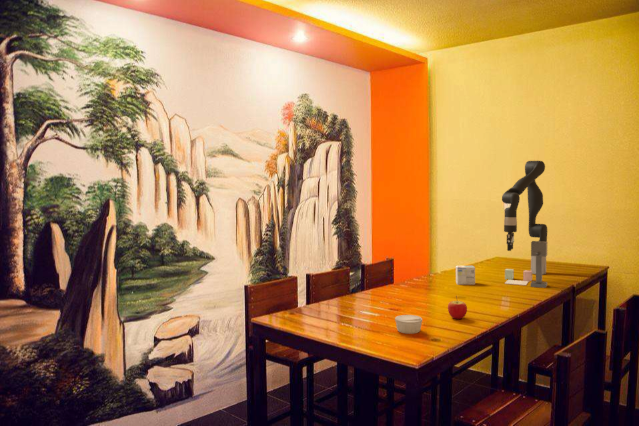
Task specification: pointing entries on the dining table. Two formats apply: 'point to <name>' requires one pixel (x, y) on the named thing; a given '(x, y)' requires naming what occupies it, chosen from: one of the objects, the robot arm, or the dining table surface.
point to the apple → (457, 309)
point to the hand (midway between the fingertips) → (510, 250)
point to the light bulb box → (465, 275)
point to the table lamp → (539, 261)
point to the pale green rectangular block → (509, 274)
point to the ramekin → (408, 324)
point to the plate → (516, 282)
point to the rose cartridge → (527, 275)
